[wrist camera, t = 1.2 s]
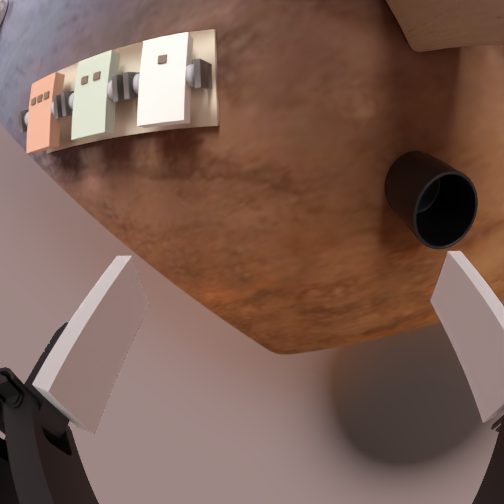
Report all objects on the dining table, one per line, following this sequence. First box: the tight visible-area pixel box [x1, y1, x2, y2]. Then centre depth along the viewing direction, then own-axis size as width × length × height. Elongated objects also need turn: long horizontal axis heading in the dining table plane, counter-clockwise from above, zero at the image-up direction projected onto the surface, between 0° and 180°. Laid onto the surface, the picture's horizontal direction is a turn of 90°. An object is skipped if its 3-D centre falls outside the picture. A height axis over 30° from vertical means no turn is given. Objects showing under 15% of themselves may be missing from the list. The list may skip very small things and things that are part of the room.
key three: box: [24, 72, 65, 153], centre depth 24 cm, size 10×6×2 cm, turn 1°
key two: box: [69, 50, 120, 140], centre depth 23 cm, size 10×6×2 cm, turn 1°
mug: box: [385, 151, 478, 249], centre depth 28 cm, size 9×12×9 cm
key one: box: [133, 32, 195, 128], centre depth 23 cm, size 10×6×2 cm, turn 1°
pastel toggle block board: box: [18, 29, 219, 153], centre depth 25 cm, size 12×27×6 cm, turn 91°
